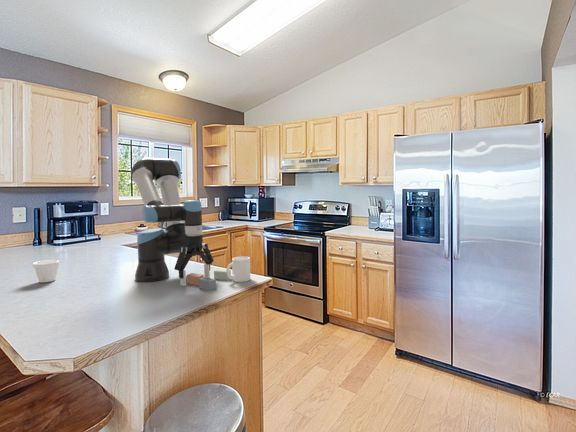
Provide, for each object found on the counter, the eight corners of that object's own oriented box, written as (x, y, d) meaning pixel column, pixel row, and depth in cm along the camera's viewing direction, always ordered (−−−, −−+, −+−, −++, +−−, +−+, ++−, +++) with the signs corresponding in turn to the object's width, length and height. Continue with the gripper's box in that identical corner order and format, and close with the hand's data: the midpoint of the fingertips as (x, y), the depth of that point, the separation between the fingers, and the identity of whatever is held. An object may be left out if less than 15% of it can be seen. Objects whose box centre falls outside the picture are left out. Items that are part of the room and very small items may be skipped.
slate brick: (198, 287, 138) (198, 278, 137) (205, 285, 141) (205, 277, 140) (209, 290, 134) (209, 281, 133) (216, 288, 136) (215, 279, 136)
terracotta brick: (186, 283, 144) (186, 274, 144) (192, 281, 147) (192, 273, 147) (198, 285, 141) (198, 276, 141) (204, 283, 144) (203, 274, 144)
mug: (231, 285, 140) (230, 262, 139) (222, 281, 147) (221, 259, 146) (253, 280, 148) (253, 258, 147) (244, 276, 154) (243, 255, 153)
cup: (65, 279, 152) (63, 260, 151) (41, 285, 143) (40, 265, 142) (52, 277, 156) (51, 258, 155) (29, 283, 147) (27, 263, 146)
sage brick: (214, 279, 151) (213, 270, 150) (217, 277, 154) (217, 269, 154) (227, 280, 149) (227, 271, 148) (230, 278, 152) (230, 270, 152)
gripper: (175, 238, 130) (177, 289, 131) (220, 232, 151) (221, 276, 152) (164, 237, 134) (166, 287, 136) (209, 231, 155) (210, 274, 156)
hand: (195, 281), depth 144 cm, fingers open, 13 cm apart
